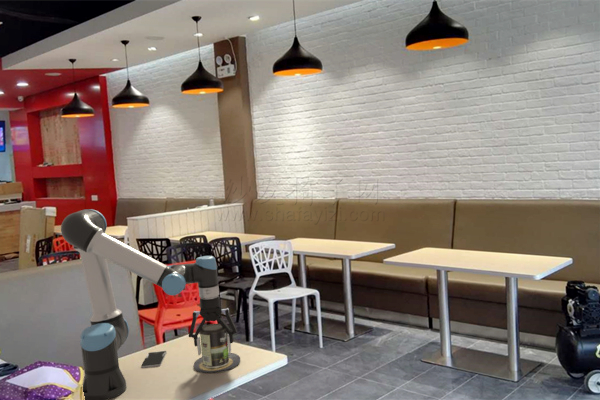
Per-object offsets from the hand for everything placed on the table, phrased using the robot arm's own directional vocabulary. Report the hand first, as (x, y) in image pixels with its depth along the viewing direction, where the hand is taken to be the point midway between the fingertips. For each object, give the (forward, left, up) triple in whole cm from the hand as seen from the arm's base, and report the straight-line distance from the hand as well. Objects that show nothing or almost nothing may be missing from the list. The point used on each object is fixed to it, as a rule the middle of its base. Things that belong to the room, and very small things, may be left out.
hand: (214, 352), depth 211 cm
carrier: (0, +3, -6) cm, 6 cm away
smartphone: (-27, +13, -6) cm, 31 cm away
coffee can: (0, 0, -4) cm, 4 cm away
